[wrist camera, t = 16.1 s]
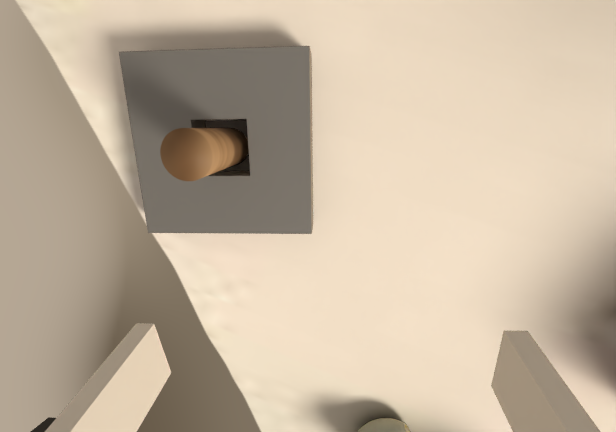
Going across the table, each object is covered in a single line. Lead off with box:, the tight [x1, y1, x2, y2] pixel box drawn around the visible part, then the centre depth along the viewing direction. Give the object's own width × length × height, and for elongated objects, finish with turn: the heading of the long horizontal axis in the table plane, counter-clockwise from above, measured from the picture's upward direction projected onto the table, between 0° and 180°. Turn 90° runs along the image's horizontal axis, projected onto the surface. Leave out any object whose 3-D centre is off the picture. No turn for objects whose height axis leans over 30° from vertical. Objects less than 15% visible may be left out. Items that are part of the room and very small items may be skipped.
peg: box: [160, 128, 249, 181], centre depth 32 cm, size 4×4×13 cm
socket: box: [119, 46, 313, 234], centre depth 37 cm, size 20×20×4 cm
